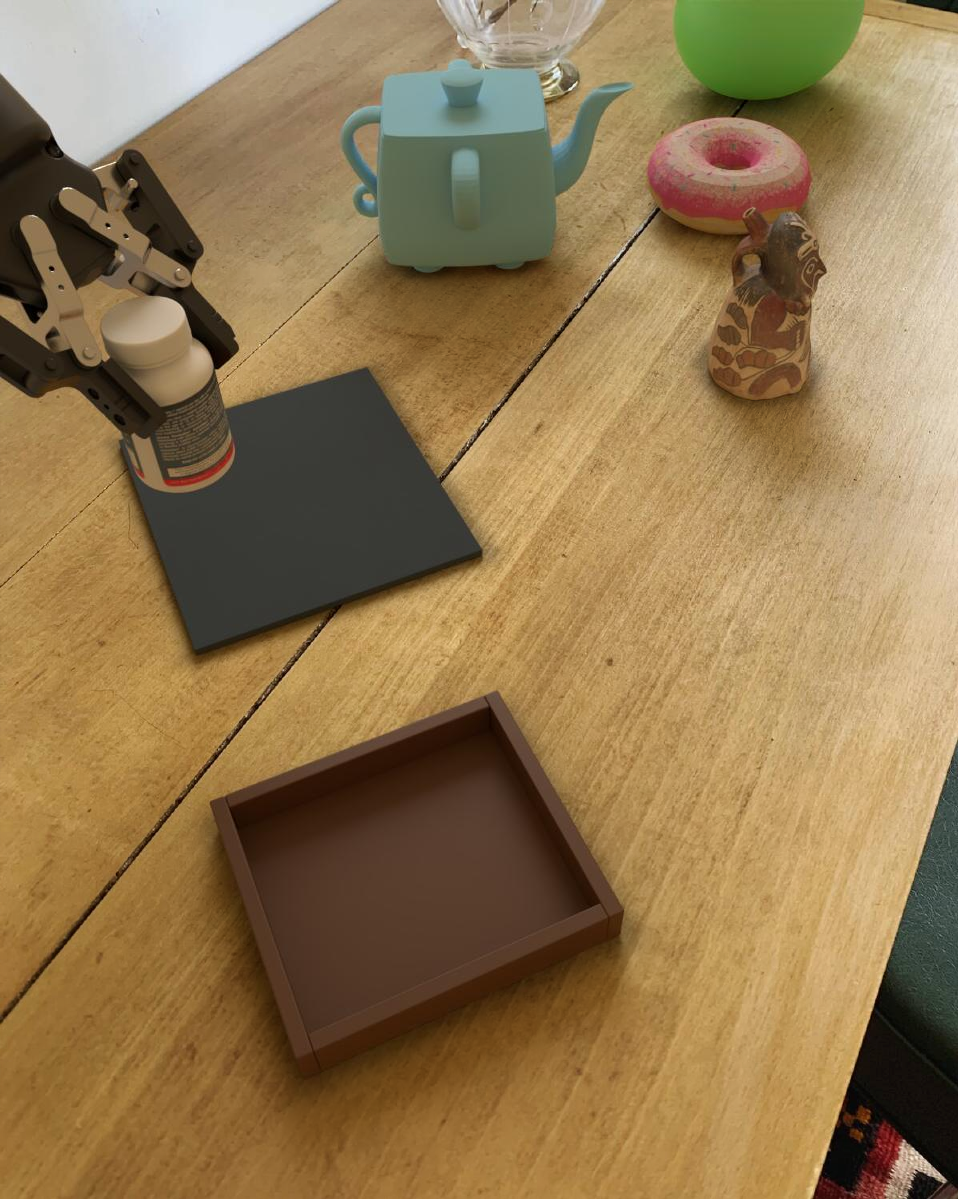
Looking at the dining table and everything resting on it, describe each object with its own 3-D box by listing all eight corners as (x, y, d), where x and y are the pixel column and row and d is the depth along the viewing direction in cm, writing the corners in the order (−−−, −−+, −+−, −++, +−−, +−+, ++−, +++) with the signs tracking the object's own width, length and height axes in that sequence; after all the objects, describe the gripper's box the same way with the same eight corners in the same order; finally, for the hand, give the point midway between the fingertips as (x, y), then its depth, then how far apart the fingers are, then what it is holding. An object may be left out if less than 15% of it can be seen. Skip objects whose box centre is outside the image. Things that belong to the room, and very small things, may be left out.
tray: (304, 1080, 48) (295, 1060, 46) (219, 826, 56) (208, 800, 54) (620, 934, 52) (624, 910, 50) (498, 716, 60) (497, 689, 58)
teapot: (453, 325, 83) (445, 154, 73) (325, 238, 92) (302, 72, 81) (624, 235, 91) (638, 68, 81) (491, 161, 99) (489, 1, 89)
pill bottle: (255, 442, 59) (222, 301, 53) (201, 507, 56) (159, 364, 49) (171, 418, 61) (129, 277, 54) (115, 479, 58) (62, 338, 51)
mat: (196, 655, 63) (194, 650, 63) (120, 445, 75) (118, 439, 75) (483, 555, 68) (482, 549, 67) (367, 371, 80) (367, 366, 80)
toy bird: (762, 149, 99) (793, -29, 88) (623, 88, 108) (635, -81, 96) (880, 82, 107) (922, -89, 96) (741, 31, 115) (765, -132, 104)
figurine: (787, 412, 76) (824, 257, 67) (690, 382, 78) (712, 228, 69) (820, 355, 80) (859, 200, 71) (726, 328, 82) (752, 175, 73)
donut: (691, 262, 88) (699, 204, 84) (615, 183, 96) (619, 127, 92) (836, 224, 91) (850, 166, 87) (751, 150, 99) (760, 95, 95)
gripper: (-208, 128, 42) (131, 459, 47) (49, -13, 50) (311, 282, 55) (-234, 224, 47) (71, 510, 53) (0, 83, 56) (243, 343, 61)
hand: (192, 392), depth 54 cm, fingers closed on pill bottle, 5 cm apart
